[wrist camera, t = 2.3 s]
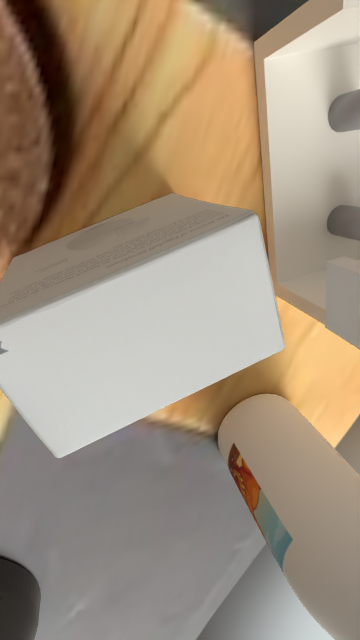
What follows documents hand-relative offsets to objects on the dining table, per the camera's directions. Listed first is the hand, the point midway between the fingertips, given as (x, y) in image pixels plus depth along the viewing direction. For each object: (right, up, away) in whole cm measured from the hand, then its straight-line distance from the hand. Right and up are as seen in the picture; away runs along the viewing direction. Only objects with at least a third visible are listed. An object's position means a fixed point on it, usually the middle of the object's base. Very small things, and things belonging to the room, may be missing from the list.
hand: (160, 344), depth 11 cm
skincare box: (-3, +4, +10) cm, 11 cm away
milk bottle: (+7, -9, +19) cm, 22 cm away
